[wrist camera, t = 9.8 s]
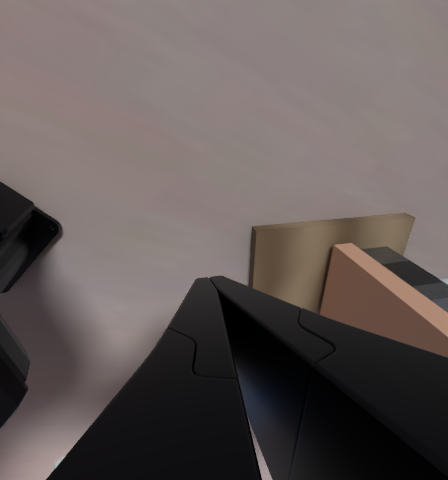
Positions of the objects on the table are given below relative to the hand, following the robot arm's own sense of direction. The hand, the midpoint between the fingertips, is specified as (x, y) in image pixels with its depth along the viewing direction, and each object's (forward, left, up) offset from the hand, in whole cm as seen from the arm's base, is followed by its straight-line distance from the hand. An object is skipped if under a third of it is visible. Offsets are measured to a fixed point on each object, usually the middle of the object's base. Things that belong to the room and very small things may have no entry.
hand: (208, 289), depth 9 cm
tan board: (+3, -15, -12) cm, 19 cm away
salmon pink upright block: (+6, -18, -10) cm, 22 cm away
